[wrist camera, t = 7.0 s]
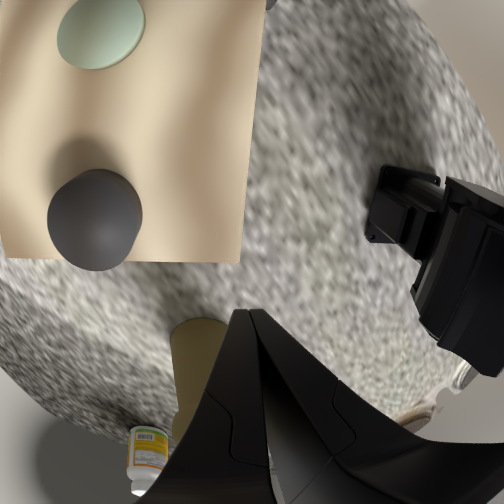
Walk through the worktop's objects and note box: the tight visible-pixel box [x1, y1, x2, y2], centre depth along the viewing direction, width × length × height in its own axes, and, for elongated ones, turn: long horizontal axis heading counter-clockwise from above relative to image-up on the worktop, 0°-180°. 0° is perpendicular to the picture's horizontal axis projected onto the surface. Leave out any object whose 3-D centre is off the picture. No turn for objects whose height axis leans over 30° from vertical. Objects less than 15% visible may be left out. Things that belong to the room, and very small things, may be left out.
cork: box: [170, 318, 227, 444], centre depth 21 cm, size 6×6×11 cm
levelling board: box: [0, 0, 267, 271], centre depth 12 cm, size 16×18×4 cm
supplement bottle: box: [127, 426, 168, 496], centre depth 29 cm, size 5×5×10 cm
